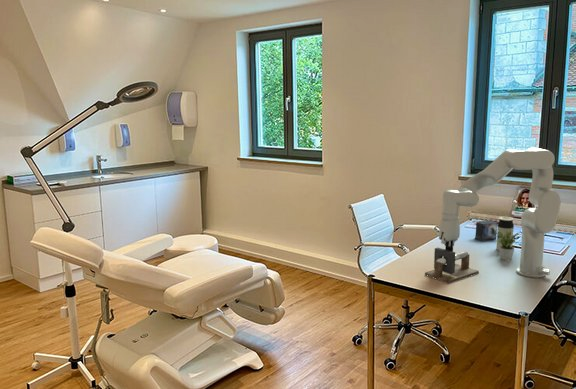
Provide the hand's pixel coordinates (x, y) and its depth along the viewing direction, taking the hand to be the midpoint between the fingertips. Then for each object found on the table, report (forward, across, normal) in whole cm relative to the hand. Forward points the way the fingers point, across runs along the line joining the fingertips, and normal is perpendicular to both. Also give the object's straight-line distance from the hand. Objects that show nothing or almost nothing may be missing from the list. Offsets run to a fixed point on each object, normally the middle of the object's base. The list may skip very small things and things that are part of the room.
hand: (449, 253), depth 232 cm
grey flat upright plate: (+8, +3, 0) cm, 8 cm away
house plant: (+11, -43, +4) cm, 44 cm away
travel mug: (+11, -57, -7) cm, 58 cm away
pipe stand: (+11, -3, 0) cm, 11 cm away
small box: (+11, -68, -26) cm, 73 cm away
